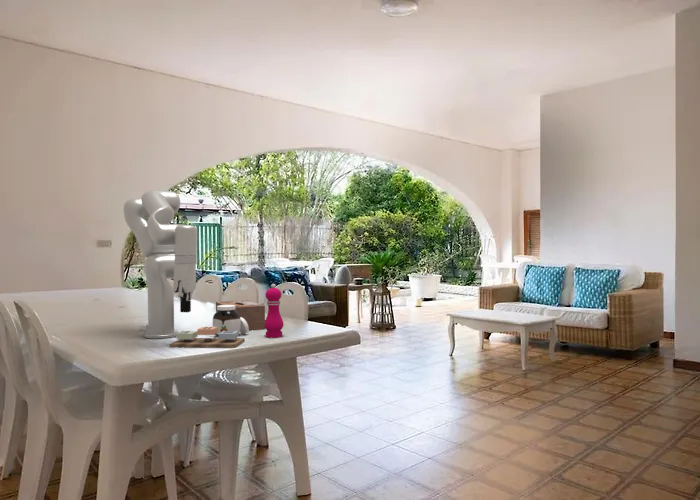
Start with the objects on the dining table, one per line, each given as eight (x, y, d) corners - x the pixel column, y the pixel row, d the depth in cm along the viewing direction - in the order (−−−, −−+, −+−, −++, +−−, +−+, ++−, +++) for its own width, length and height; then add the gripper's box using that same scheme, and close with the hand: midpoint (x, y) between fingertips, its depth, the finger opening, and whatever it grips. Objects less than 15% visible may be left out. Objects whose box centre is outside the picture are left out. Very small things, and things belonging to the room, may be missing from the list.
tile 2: (197, 335, 191) (197, 328, 191) (202, 332, 197) (202, 326, 197) (213, 335, 191) (212, 328, 191) (218, 332, 196) (217, 326, 196)
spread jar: (209, 337, 209) (209, 306, 209) (226, 332, 219) (226, 303, 219) (236, 338, 205) (236, 307, 204) (252, 334, 215) (252, 304, 215)
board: (169, 347, 189) (169, 341, 189) (182, 341, 201) (182, 335, 201) (235, 347, 187) (235, 342, 187) (244, 341, 199) (244, 335, 199)
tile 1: (176, 339, 192) (176, 333, 192) (182, 336, 197) (182, 330, 197) (191, 339, 191) (191, 333, 191) (197, 336, 197) (197, 330, 197)
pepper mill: (280, 338, 204) (279, 284, 204) (261, 337, 206) (260, 284, 206) (286, 335, 212) (285, 283, 211) (268, 334, 213) (267, 283, 213)
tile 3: (218, 339, 191) (218, 333, 191) (223, 336, 196) (223, 330, 196) (234, 339, 190) (234, 333, 190) (238, 336, 196) (238, 330, 196)
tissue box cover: (265, 330, 226) (264, 305, 226) (230, 332, 219) (229, 307, 219) (248, 322, 249) (248, 300, 249) (216, 324, 243) (215, 301, 242)
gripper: (183, 258, 202) (183, 308, 203) (166, 261, 187) (166, 315, 188) (203, 259, 201) (203, 308, 202) (188, 262, 186) (188, 315, 187)
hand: (185, 311), depth 195 cm, fingers closed
